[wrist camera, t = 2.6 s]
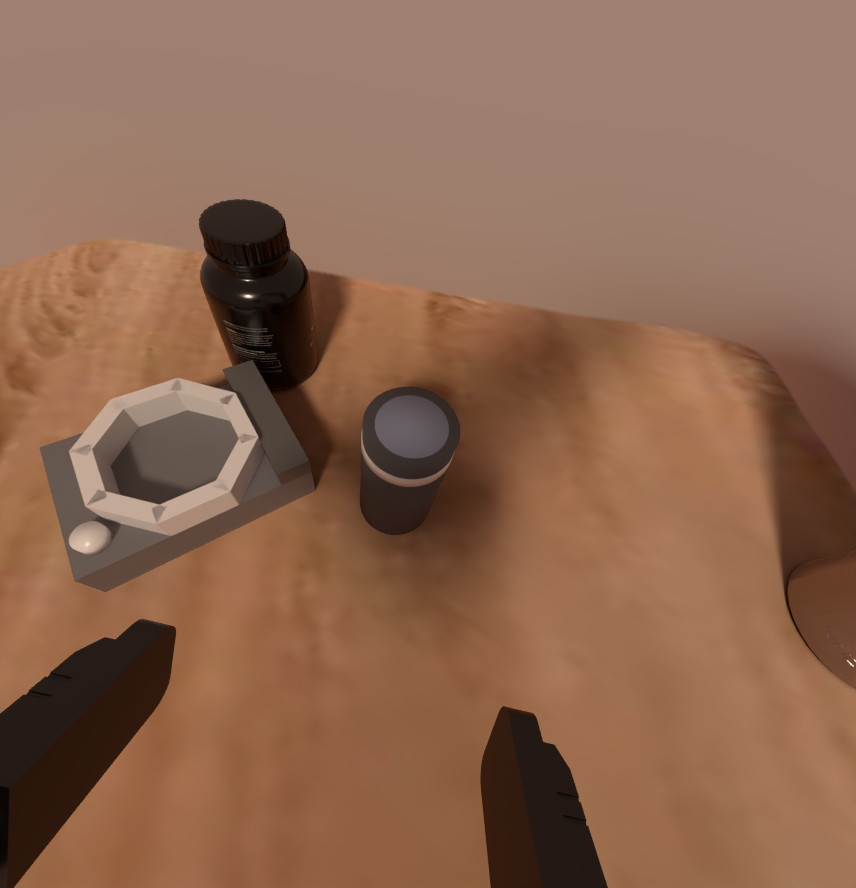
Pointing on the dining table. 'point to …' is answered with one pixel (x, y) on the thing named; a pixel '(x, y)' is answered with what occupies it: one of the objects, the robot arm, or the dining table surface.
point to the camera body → (172, 473)
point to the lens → (404, 456)
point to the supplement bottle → (258, 291)
